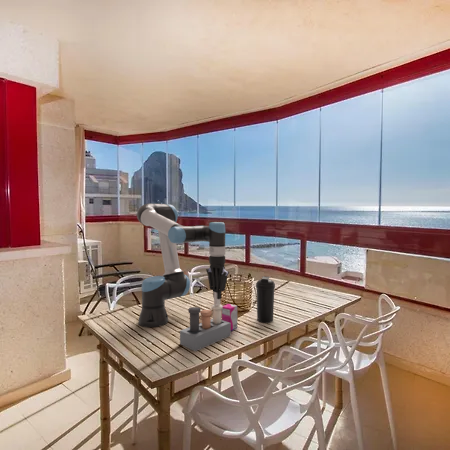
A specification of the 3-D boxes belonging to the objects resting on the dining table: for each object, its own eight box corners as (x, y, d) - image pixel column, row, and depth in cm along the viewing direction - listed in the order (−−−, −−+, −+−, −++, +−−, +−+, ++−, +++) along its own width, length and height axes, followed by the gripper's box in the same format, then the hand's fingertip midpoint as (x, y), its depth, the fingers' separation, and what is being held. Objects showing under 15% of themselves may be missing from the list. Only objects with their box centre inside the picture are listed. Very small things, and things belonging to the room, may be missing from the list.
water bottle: (275, 317, 161) (276, 276, 161) (273, 324, 152) (274, 280, 151) (257, 315, 164) (257, 275, 163) (254, 322, 154) (254, 279, 154)
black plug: (185, 330, 127) (185, 309, 127) (195, 326, 131) (195, 306, 131) (193, 333, 124) (193, 311, 123) (202, 329, 127) (203, 308, 127)
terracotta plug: (198, 331, 132) (198, 311, 132) (206, 328, 136) (206, 308, 136) (205, 334, 129) (206, 314, 129) (214, 331, 133) (214, 311, 132)
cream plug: (209, 325, 138) (209, 305, 137) (216, 322, 141) (217, 303, 141) (217, 328, 134) (217, 308, 134) (224, 325, 138) (224, 305, 138)
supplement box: (228, 325, 150) (228, 303, 150) (237, 328, 146) (238, 305, 146) (221, 328, 146) (221, 306, 145) (230, 331, 142) (230, 308, 141)
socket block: (179, 344, 128) (179, 330, 128) (215, 329, 144) (215, 317, 144) (195, 351, 121) (195, 337, 121) (230, 335, 137) (230, 322, 137)
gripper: (201, 254, 138) (201, 304, 139) (221, 257, 129) (221, 310, 130) (213, 253, 144) (213, 300, 144) (233, 255, 135) (233, 306, 136)
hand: (217, 305), depth 137 cm, fingers closed
